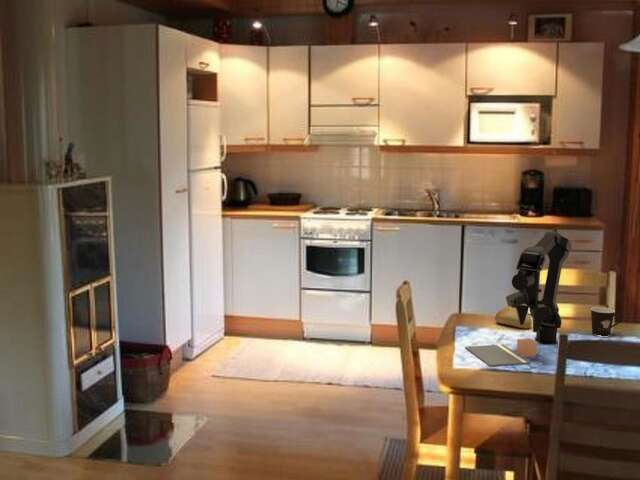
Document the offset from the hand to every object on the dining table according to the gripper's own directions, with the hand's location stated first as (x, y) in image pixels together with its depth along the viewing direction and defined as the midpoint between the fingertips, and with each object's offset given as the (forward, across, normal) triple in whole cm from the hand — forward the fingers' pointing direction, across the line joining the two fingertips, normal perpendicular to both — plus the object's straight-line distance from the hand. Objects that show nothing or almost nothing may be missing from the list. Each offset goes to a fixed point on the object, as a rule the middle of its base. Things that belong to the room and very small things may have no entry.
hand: (528, 328), depth 257 cm
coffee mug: (+10, -15, +42) cm, 46 cm away
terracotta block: (+10, 0, 0) cm, 10 cm away
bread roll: (+10, -34, +13) cm, 38 cm away
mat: (+9, 0, -12) cm, 15 cm away
